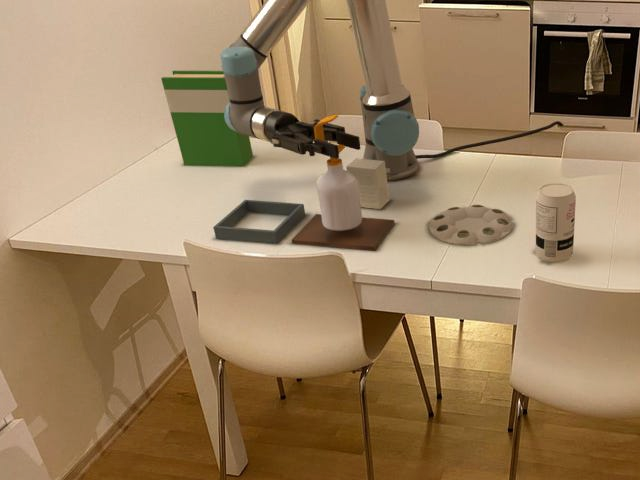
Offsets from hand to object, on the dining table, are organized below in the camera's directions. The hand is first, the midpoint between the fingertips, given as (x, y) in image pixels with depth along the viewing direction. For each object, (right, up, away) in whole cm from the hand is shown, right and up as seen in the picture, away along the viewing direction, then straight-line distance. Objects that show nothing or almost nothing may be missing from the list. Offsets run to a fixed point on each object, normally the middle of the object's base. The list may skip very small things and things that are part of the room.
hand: (347, 147), depth 160 cm
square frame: (-24, -13, +19) cm, 34 cm away
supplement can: (+44, -23, +4) cm, 50 cm away
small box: (+1, -6, +29) cm, 29 cm away
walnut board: (-3, -16, +15) cm, 22 cm away
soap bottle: (-4, -14, +14) cm, 20 cm away
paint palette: (+26, -14, +17) cm, 34 cm away
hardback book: (-47, +12, +56) cm, 74 cm away
